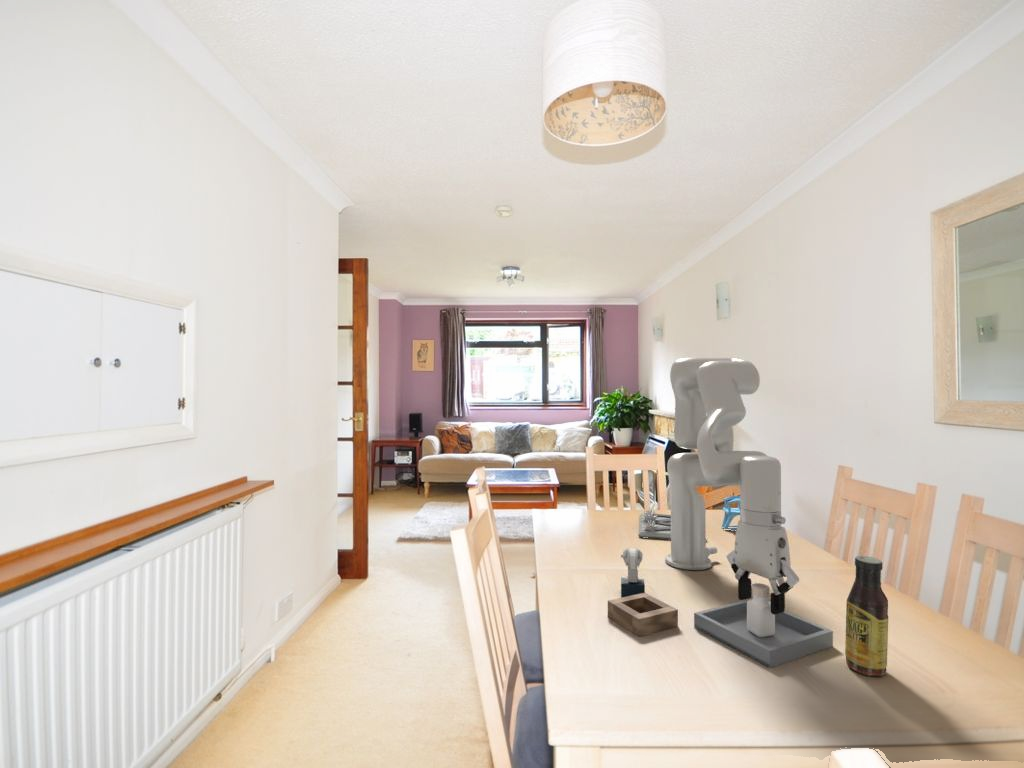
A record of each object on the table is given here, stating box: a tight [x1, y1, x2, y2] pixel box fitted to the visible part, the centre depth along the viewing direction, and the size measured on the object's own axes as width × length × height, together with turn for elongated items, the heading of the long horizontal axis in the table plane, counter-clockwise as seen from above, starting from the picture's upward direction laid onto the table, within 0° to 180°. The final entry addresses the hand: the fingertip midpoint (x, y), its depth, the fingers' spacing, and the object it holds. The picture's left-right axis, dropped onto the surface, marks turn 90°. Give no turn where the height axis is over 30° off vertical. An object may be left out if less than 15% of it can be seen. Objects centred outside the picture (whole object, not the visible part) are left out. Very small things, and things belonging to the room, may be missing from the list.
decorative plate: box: [638, 507, 671, 540], centre depth 189 cm, size 30×22×7 cm
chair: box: [721, 495, 740, 530], centre depth 188 cm, size 8×8×12 cm
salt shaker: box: [747, 582, 775, 637], centre depth 106 cm, size 4×4×10 cm
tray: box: [693, 597, 834, 669], centre depth 106 cm, size 18×18×3 cm
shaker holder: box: [607, 592, 679, 637], centre depth 113 cm, size 10×10×4 cm
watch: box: [620, 547, 646, 598], centre depth 128 cm, size 6×8×11 cm
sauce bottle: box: [844, 555, 889, 677], centre depth 94 cm, size 7×6×20 cm
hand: (760, 604), depth 106 cm, fingers open, 7 cm apart
